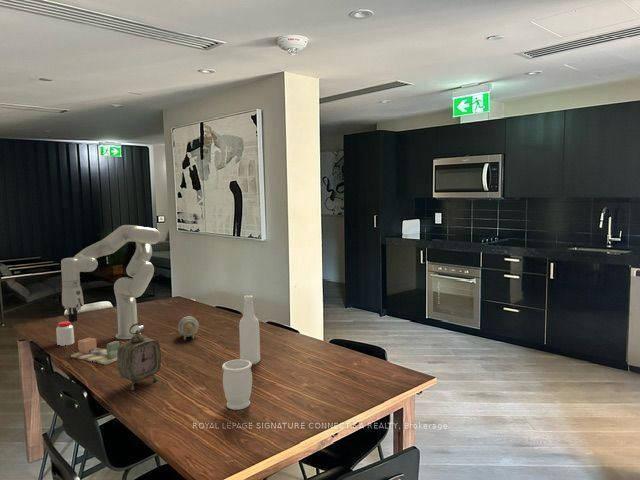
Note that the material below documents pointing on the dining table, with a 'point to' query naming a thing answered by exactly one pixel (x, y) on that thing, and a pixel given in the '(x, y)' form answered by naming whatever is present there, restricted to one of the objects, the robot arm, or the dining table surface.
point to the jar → (237, 383)
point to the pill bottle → (65, 333)
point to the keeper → (87, 345)
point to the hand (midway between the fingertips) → (73, 321)
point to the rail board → (100, 354)
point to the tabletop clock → (138, 358)
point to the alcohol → (249, 333)
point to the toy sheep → (188, 326)
